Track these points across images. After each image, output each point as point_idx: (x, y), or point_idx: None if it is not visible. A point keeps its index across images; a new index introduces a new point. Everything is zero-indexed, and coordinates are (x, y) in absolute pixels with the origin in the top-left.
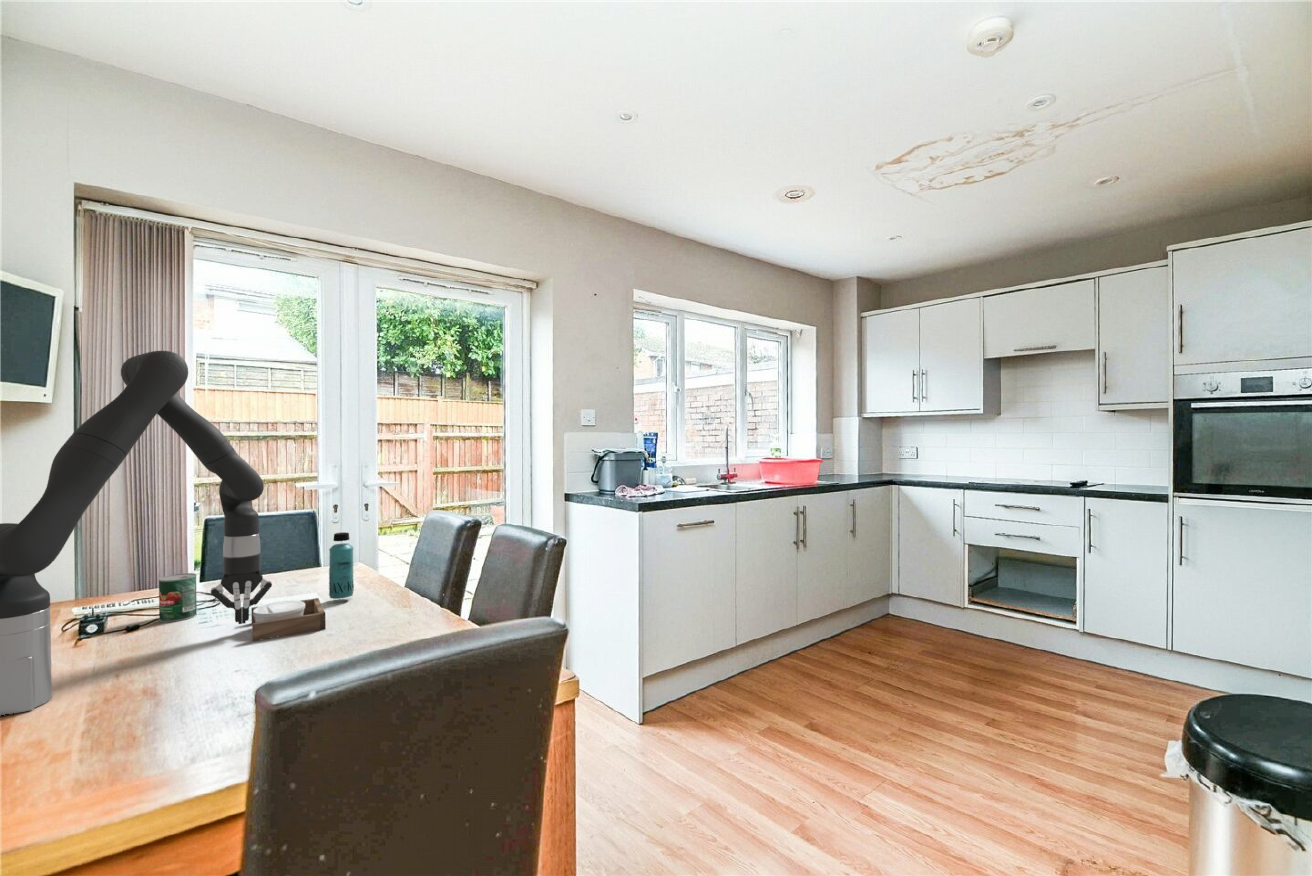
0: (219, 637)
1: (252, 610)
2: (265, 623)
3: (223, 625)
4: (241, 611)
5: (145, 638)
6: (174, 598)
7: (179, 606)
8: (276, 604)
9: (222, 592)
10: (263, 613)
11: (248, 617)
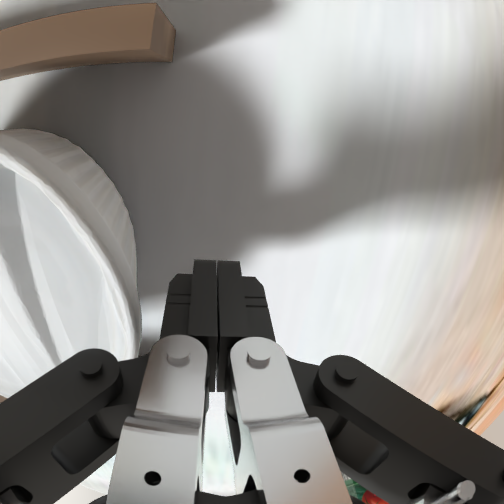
0: (320, 247)
1: None
2: (60, 16)
3: None
4: (222, 321)
5: (456, 361)
6: (376, 498)
7: None
8: (19, 372)
9: (428, 500)
10: (59, 259)
11: (171, 288)
